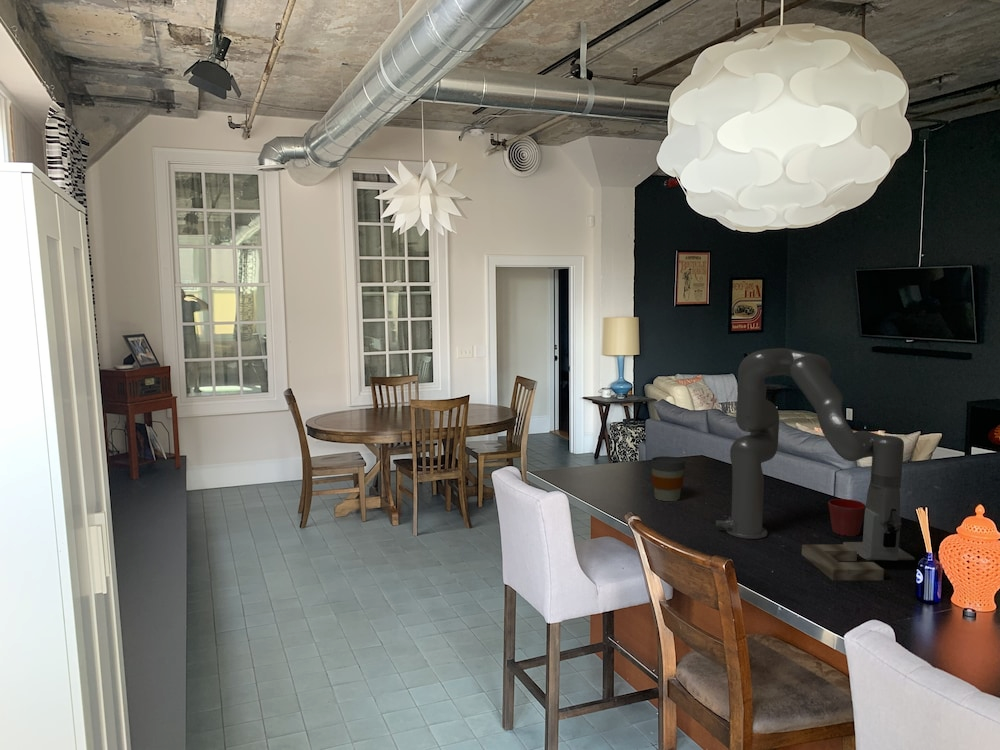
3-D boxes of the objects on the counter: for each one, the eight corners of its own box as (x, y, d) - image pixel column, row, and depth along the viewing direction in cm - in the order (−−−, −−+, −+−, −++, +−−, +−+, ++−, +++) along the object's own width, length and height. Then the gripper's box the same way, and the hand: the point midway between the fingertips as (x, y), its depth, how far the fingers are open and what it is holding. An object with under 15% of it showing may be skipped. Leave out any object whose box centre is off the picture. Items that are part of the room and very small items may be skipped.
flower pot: (844, 539, 228) (845, 509, 227) (820, 529, 239) (821, 499, 238) (872, 536, 231) (873, 506, 230) (847, 526, 241) (848, 497, 240)
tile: (866, 560, 210) (866, 558, 210) (843, 544, 224) (843, 542, 224) (914, 559, 210) (914, 557, 210) (888, 543, 224) (888, 541, 224)
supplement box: (898, 561, 201) (902, 516, 199) (869, 559, 202) (873, 514, 201) (888, 551, 208) (892, 508, 207) (861, 549, 209) (864, 506, 208)
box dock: (832, 580, 195) (833, 569, 194) (801, 554, 215) (802, 544, 214) (883, 580, 195) (883, 569, 195) (847, 554, 215) (847, 544, 214)
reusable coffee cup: (681, 494, 281) (682, 456, 279) (686, 503, 268) (687, 463, 267) (648, 494, 282) (649, 456, 281) (652, 503, 270) (652, 463, 268)
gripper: (856, 472, 211) (852, 531, 213) (888, 489, 194) (883, 552, 196) (882, 472, 211) (878, 531, 213) (917, 489, 194) (911, 552, 196)
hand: (880, 541), depth 205 cm, fingers closed on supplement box, 8 cm apart
